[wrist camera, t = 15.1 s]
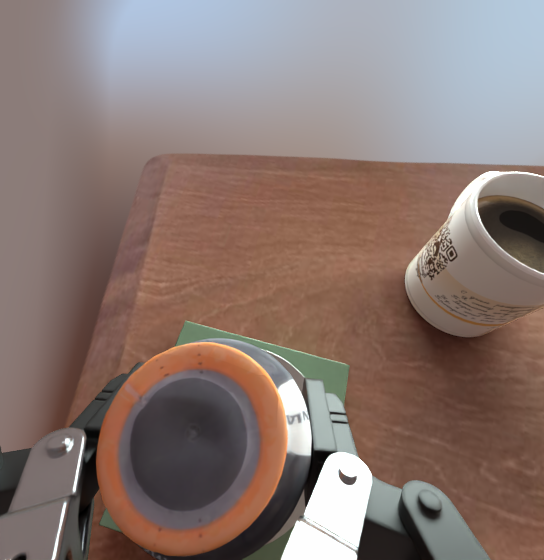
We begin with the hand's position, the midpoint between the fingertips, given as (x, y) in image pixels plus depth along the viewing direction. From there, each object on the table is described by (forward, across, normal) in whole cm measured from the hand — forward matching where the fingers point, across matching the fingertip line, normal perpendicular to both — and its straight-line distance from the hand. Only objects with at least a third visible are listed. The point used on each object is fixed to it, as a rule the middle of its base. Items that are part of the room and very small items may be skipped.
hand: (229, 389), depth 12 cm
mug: (+20, -20, 0) cm, 28 cm away
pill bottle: (+3, 0, +5) cm, 6 cm away
